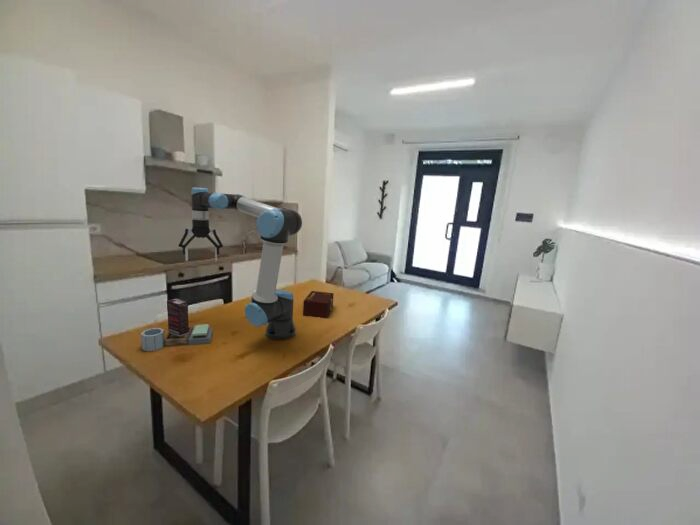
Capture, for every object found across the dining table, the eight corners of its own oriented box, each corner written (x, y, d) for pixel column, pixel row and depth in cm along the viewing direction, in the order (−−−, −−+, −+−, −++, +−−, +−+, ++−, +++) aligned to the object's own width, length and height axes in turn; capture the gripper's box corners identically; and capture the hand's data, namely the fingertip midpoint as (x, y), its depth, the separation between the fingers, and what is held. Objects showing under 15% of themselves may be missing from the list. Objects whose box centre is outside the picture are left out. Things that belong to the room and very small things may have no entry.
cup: (166, 341, 138) (165, 327, 137) (161, 350, 131) (160, 335, 129) (145, 343, 136) (144, 328, 134) (140, 351, 128) (139, 336, 127)
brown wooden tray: (192, 332, 150) (192, 326, 149) (188, 344, 137) (187, 338, 136) (171, 333, 146) (170, 327, 146) (164, 346, 134) (163, 340, 133)
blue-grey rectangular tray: (212, 332, 151) (212, 327, 150) (210, 343, 140) (209, 338, 139) (192, 333, 148) (192, 328, 147) (188, 344, 137) (188, 339, 136)
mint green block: (209, 330, 149) (208, 324, 149) (206, 339, 140) (206, 332, 139) (195, 331, 147) (195, 325, 147) (192, 340, 138) (192, 333, 137)
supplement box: (189, 333, 142) (188, 301, 138) (179, 337, 137) (178, 304, 134) (177, 329, 145) (176, 297, 142) (167, 332, 141) (166, 300, 138)
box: (329, 319, 180) (330, 303, 178) (302, 316, 181) (303, 300, 179) (334, 307, 200) (335, 293, 198) (310, 304, 202) (311, 290, 200)
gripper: (227, 219, 158) (227, 259, 162) (173, 217, 149) (175, 259, 153) (227, 221, 151) (227, 262, 155) (170, 218, 142) (172, 262, 146)
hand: (201, 260), depth 154 cm, fingers open, 13 cm apart
